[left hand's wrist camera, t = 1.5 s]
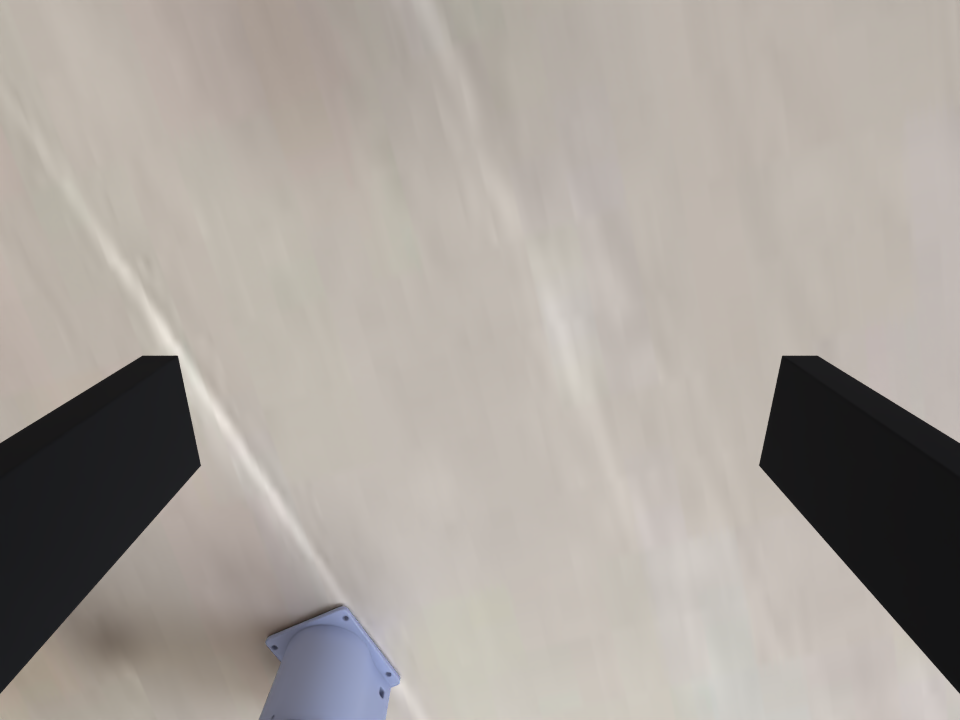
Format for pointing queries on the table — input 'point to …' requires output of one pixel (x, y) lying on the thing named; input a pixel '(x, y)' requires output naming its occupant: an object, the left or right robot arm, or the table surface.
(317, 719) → the right robot arm
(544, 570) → the table surface
